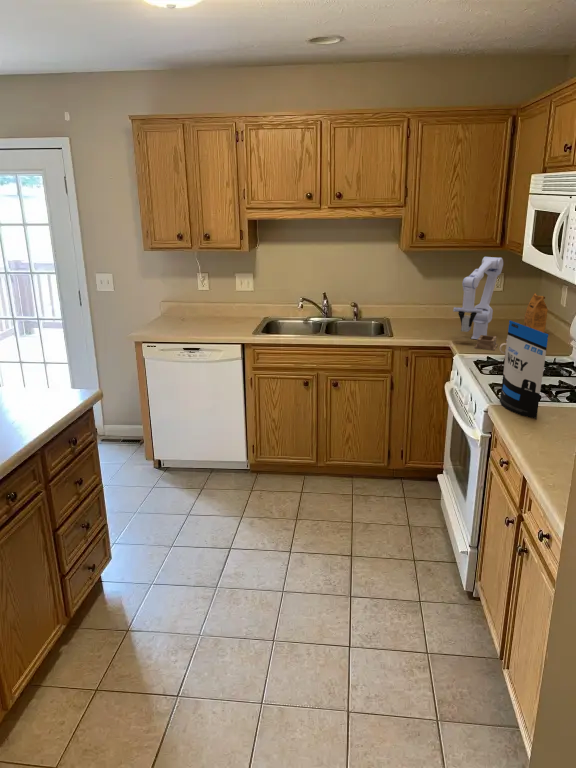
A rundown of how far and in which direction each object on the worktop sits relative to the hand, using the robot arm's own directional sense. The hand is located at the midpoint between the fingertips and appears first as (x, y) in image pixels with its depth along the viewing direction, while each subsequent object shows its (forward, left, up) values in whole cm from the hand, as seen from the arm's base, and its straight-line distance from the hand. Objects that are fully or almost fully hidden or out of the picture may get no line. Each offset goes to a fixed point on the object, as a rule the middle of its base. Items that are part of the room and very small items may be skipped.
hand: (466, 326), depth 303 cm
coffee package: (-44, +31, -10) cm, 55 cm away
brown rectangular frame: (+2, +11, -9) cm, 15 cm away
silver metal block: (0, 0, -2) cm, 2 cm away
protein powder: (+94, +34, -10) cm, 101 cm away
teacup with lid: (+21, +25, -10) cm, 34 cm away
